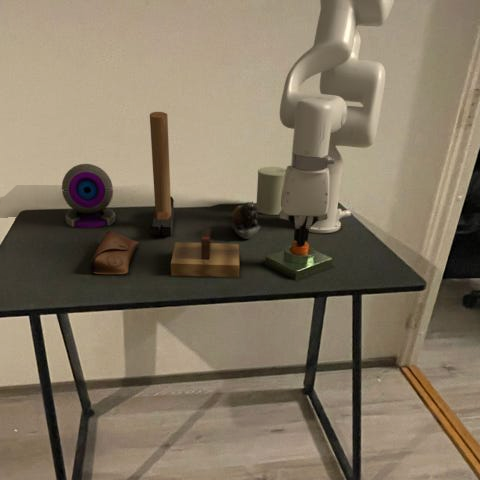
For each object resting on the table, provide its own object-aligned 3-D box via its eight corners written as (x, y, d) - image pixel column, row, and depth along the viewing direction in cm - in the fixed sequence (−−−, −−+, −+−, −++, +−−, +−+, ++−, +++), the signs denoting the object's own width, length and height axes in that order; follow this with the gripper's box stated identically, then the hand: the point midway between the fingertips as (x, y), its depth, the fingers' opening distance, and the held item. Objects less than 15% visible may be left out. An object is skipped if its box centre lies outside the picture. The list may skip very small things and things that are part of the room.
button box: (300, 252, 132) (301, 237, 130) (331, 266, 126) (333, 251, 123) (264, 264, 125) (266, 248, 123) (295, 280, 119) (297, 263, 117)
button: (299, 246, 126) (300, 239, 125) (311, 252, 123) (312, 245, 122) (287, 250, 123) (288, 243, 123) (299, 256, 121) (300, 249, 120)
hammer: (171, 247, 137) (167, 132, 117) (151, 247, 137) (143, 131, 117) (174, 207, 152) (171, 100, 132) (157, 207, 152) (150, 99, 132)
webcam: (65, 229, 139) (57, 171, 131) (66, 213, 149) (59, 158, 142) (116, 227, 142) (111, 170, 134) (114, 211, 152) (110, 157, 145)
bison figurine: (227, 226, 145) (228, 190, 140) (252, 225, 147) (254, 189, 141) (236, 243, 135) (238, 205, 130) (263, 242, 137) (266, 204, 131)
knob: (203, 246, 125) (203, 227, 123) (210, 247, 125) (210, 227, 123) (201, 259, 119) (201, 239, 116) (209, 259, 119) (209, 239, 117)
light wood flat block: (238, 255, 129) (238, 243, 127) (238, 277, 119) (239, 264, 117) (175, 253, 128) (175, 241, 127) (171, 275, 118) (170, 262, 116)
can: (290, 214, 156) (293, 173, 149) (259, 215, 154) (261, 173, 148) (282, 204, 163) (285, 164, 157) (252, 205, 162) (254, 165, 156)
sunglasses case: (129, 273, 117) (112, 248, 114) (103, 287, 119) (85, 263, 115) (140, 241, 133) (124, 219, 129) (116, 254, 134) (100, 232, 131)
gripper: (340, 159, 116) (330, 238, 126) (272, 156, 116) (266, 236, 125) (347, 168, 110) (335, 251, 119) (274, 165, 109) (268, 248, 119)
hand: (300, 243), depth 122 cm, fingers closed
